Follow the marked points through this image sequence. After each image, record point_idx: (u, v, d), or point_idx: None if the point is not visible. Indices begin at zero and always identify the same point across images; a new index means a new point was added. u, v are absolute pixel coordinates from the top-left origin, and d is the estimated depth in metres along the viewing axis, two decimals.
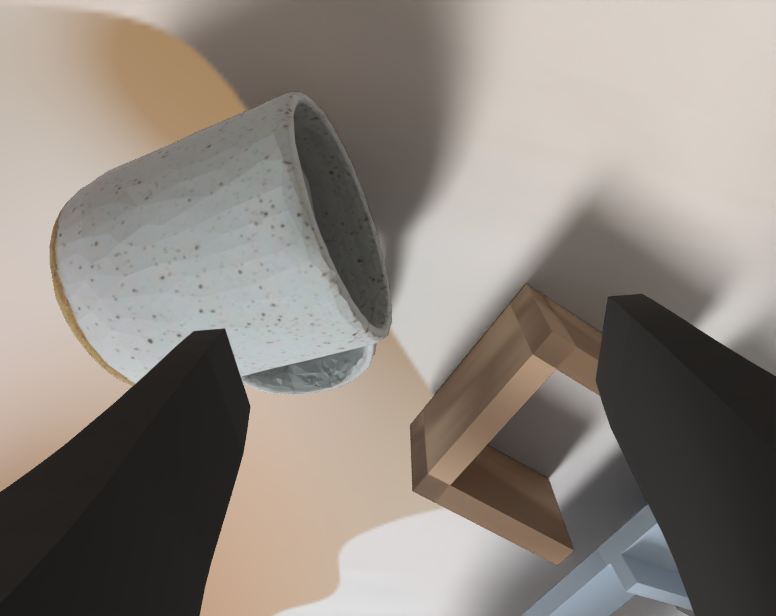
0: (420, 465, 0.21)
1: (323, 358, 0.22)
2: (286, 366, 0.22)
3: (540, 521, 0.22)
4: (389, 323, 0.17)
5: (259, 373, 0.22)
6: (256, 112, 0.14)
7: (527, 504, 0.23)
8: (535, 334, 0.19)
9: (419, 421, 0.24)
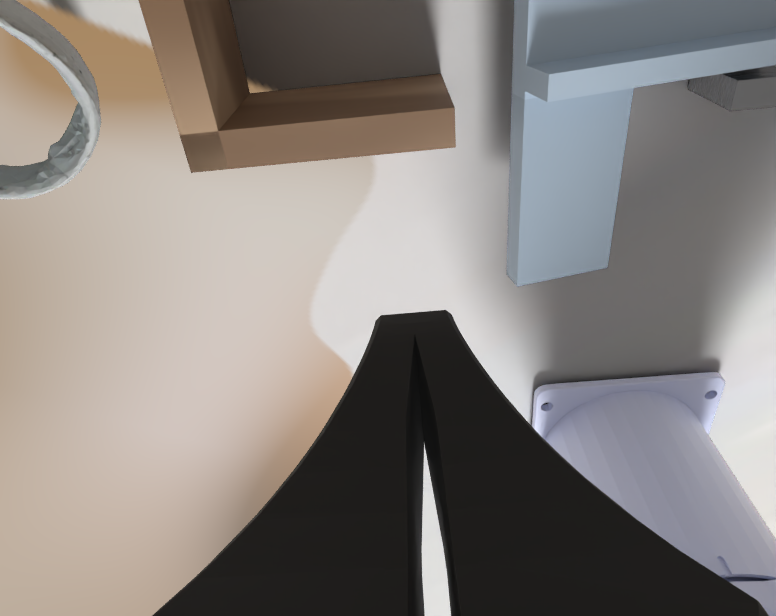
0: None
1: (71, 120, 0.17)
2: None
3: (393, 107, 0.14)
4: None
5: (19, 180, 0.18)
6: None
7: (376, 102, 0.15)
8: None
9: None
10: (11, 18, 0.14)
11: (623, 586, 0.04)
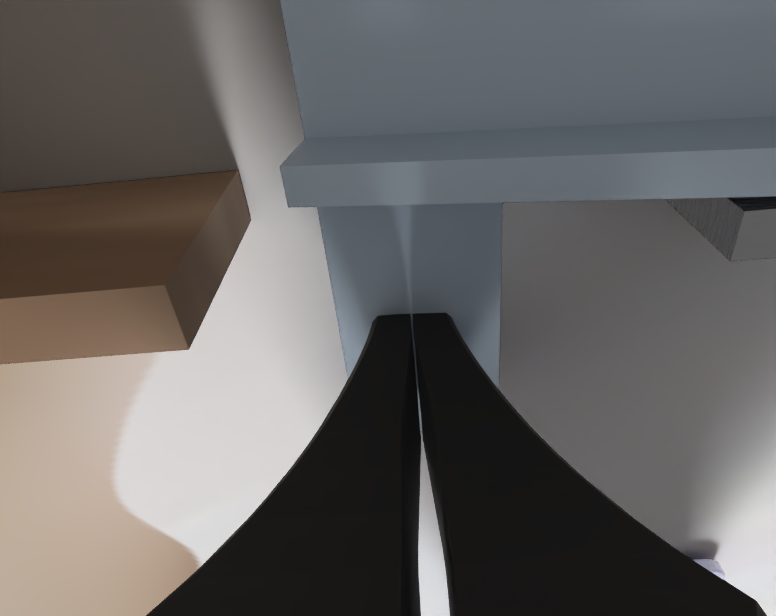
0: None
1: None
2: None
3: (70, 269, 0.07)
4: None
5: None
6: None
7: (60, 248, 0.08)
8: None
9: None
10: None
11: (621, 586, 0.04)
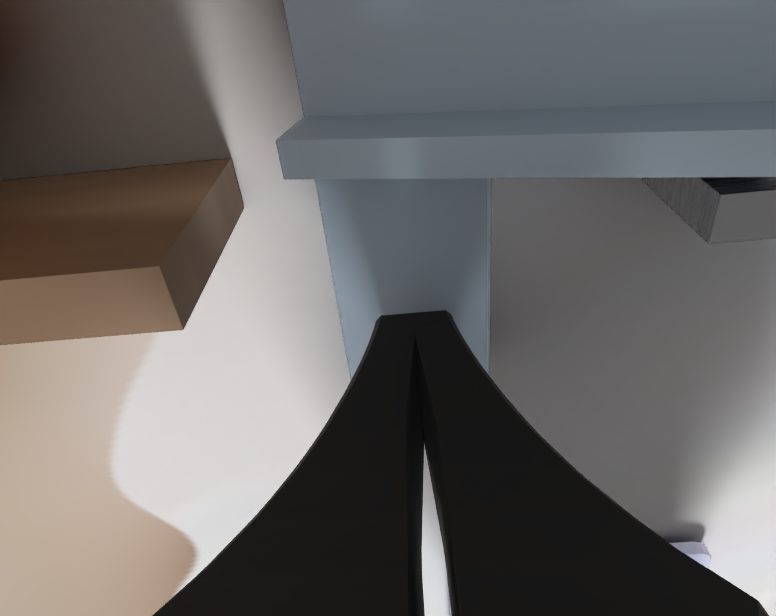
0: None
1: None
2: None
3: (67, 252, 0.08)
4: None
5: None
6: None
7: (57, 233, 0.08)
8: None
9: None
10: None
11: (623, 585, 0.04)
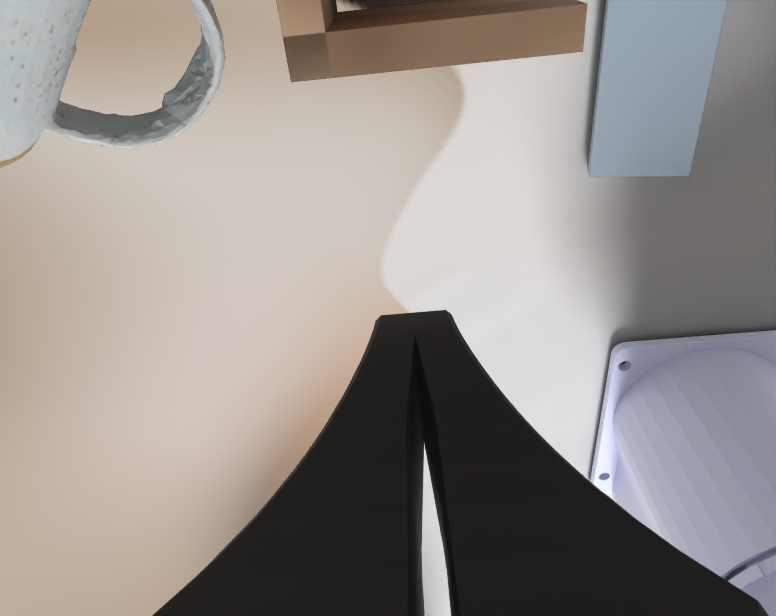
0: None
1: (189, 65, 0.17)
2: None
3: (514, 8, 0.13)
4: None
5: (133, 129, 0.17)
6: None
7: (490, 7, 0.14)
8: None
9: None
10: None
11: (623, 585, 0.04)
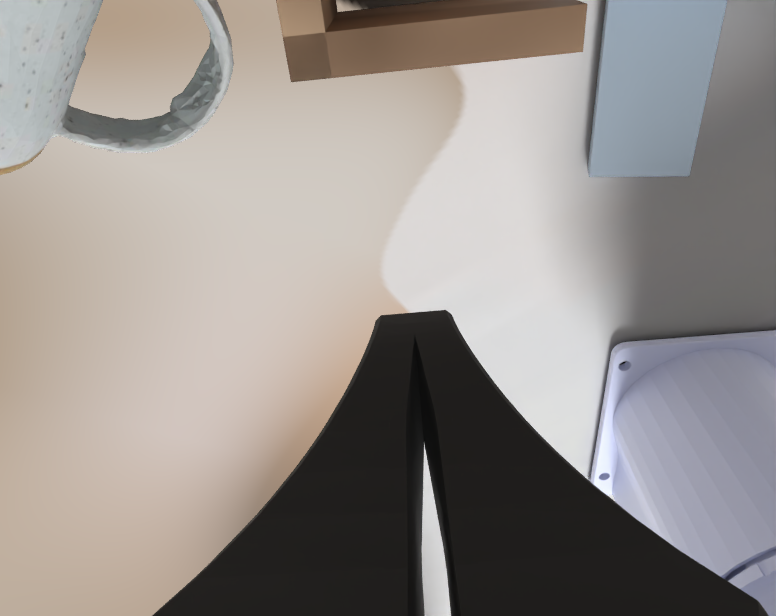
0: None
1: (197, 70, 0.17)
2: None
3: (514, 8, 0.13)
4: None
5: (141, 133, 0.17)
6: None
7: (490, 7, 0.14)
8: None
9: None
10: None
11: (623, 585, 0.04)
